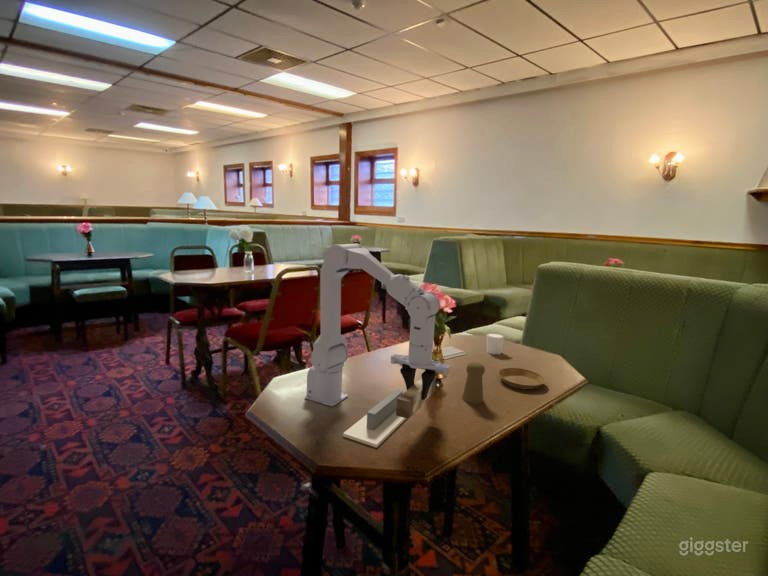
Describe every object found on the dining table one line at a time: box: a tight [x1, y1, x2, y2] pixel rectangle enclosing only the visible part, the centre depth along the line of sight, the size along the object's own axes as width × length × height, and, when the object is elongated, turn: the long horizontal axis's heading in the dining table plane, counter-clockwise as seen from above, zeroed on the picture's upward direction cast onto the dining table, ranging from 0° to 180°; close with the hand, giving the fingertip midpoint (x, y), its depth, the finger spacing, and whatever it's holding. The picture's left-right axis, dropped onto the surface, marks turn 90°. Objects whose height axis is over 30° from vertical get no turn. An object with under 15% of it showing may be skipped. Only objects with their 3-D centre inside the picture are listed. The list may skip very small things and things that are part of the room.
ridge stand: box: [342, 389, 408, 449], centre depth 107 cm, size 9×26×5 cm, turn 153°
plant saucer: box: [497, 367, 546, 390], centre depth 137 cm, size 15×15×3 cm
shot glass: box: [486, 332, 505, 355], centre depth 167 cm, size 7×7×7 cm
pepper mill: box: [461, 361, 486, 405], centre depth 122 cm, size 6×6×11 cm
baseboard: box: [399, 346, 468, 366], centre depth 157 cm, size 30×3×10 cm
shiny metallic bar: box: [396, 375, 437, 420], centre depth 102 cm, size 18×3×4 cm, turn 154°
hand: (417, 396), depth 103 cm, fingers closed on shiny metallic bar, 3 cm apart
